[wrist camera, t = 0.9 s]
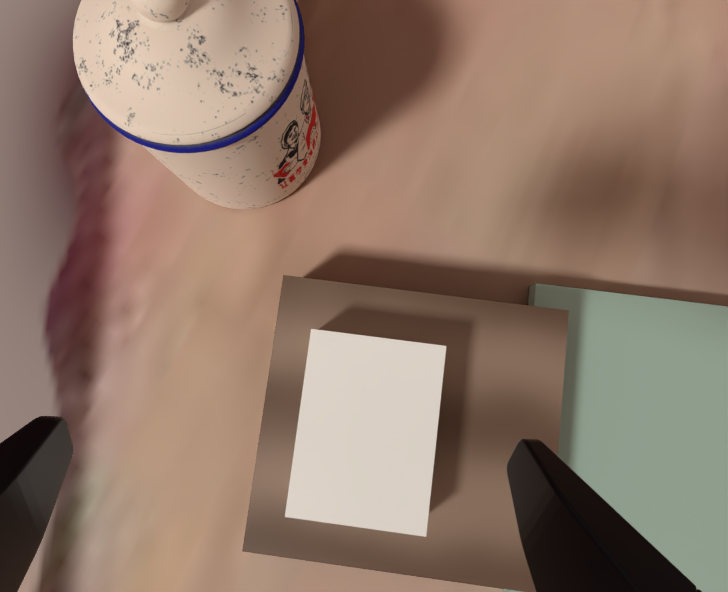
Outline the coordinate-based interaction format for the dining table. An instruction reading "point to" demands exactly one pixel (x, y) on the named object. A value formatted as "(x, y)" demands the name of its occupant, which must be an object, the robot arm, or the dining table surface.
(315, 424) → the ivory tile
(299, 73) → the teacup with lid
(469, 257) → the dining table surface
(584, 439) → the sage mat
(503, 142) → the dining table surface
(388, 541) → the walnut deck
